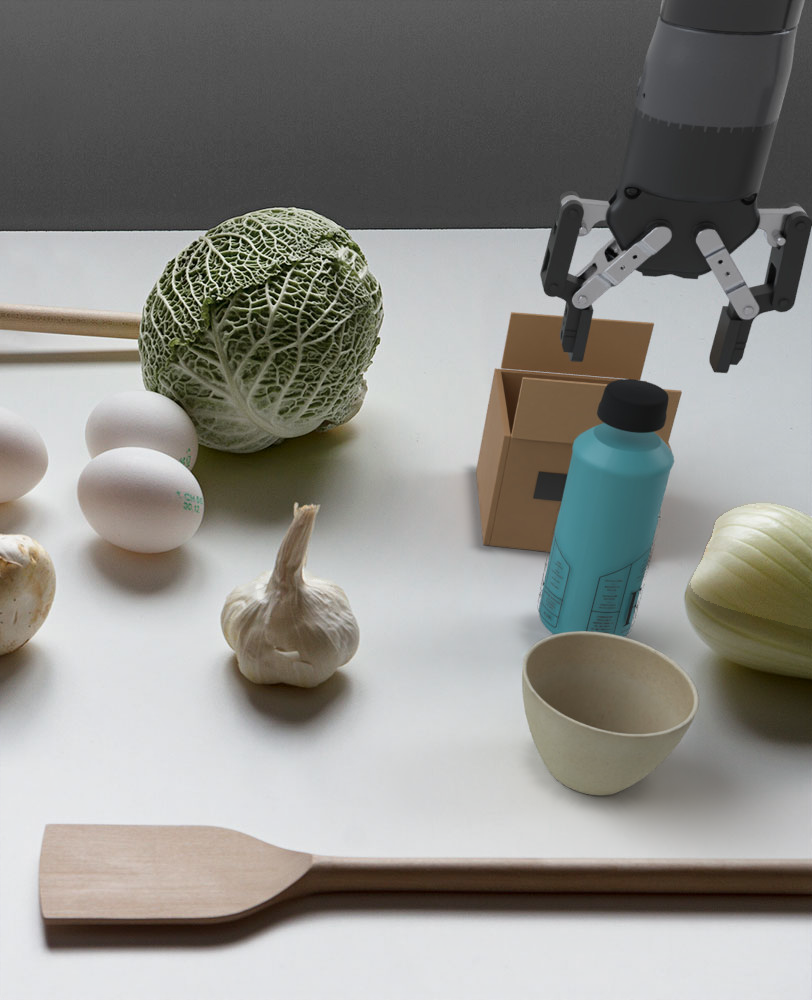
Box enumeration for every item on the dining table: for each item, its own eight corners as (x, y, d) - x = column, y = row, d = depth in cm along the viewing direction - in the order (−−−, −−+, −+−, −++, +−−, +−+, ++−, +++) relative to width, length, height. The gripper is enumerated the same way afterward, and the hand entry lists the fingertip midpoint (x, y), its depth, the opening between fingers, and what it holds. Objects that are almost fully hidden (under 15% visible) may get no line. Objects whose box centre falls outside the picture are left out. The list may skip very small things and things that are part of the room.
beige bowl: (657, 727, 85) (683, 640, 81) (683, 837, 77) (714, 747, 73) (499, 705, 87) (517, 620, 83) (508, 811, 79) (529, 721, 75)
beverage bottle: (626, 674, 90) (697, 419, 79) (526, 654, 92) (582, 402, 81) (627, 621, 95) (694, 375, 84) (532, 603, 97) (586, 360, 86)
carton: (619, 483, 112) (660, 323, 104) (642, 564, 101) (689, 392, 93) (475, 469, 114) (504, 311, 106) (483, 547, 103) (515, 378, 96)
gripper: (582, 116, 72) (532, 379, 80) (864, 127, 69) (781, 398, 77) (568, 83, 78) (523, 330, 87) (826, 91, 75) (753, 346, 84)
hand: (645, 362), depth 82 cm, fingers open, 8 cm apart
